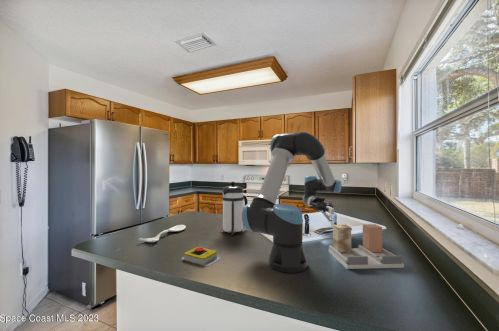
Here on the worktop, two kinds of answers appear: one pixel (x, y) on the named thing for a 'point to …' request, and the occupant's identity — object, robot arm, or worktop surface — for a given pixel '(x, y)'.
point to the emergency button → (201, 256)
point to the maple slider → (342, 238)
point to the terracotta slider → (372, 237)
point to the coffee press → (232, 208)
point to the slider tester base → (367, 258)
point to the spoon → (173, 229)
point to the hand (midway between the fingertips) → (332, 211)
